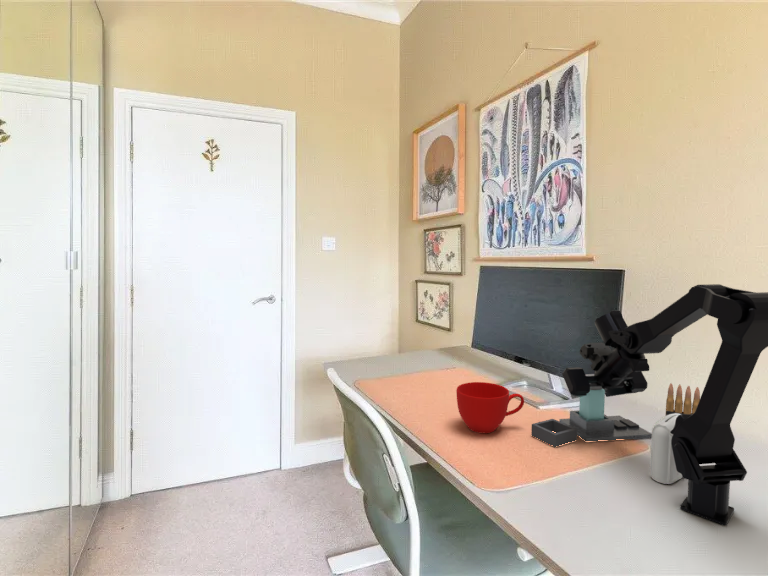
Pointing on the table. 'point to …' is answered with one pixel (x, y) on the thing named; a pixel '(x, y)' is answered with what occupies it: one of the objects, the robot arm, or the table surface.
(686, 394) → the ammunition clip
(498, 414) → the ceramic cup
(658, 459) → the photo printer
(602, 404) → the aqua plug
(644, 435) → the switch
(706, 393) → the robot arm
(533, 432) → the box
